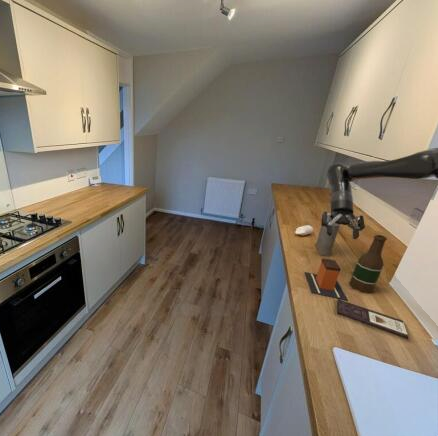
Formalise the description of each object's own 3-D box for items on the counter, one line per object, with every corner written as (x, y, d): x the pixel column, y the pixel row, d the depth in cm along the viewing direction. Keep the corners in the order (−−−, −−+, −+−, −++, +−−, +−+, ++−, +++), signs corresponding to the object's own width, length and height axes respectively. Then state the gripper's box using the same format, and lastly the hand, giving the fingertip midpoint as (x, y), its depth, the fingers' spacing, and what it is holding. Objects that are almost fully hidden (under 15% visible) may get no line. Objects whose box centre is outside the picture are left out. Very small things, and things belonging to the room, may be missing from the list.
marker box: (328, 281, 104) (335, 260, 100) (333, 291, 97) (340, 269, 94) (315, 278, 105) (322, 257, 102) (319, 288, 99) (326, 266, 95)
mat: (335, 278, 106) (335, 277, 106) (347, 300, 92) (348, 299, 92) (304, 272, 110) (304, 271, 110) (311, 292, 97) (311, 291, 96)
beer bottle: (344, 283, 103) (362, 232, 95) (359, 281, 104) (378, 231, 96) (362, 294, 96) (383, 241, 88) (378, 292, 97) (400, 239, 89)
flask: (332, 257, 124) (344, 222, 117) (319, 254, 127) (330, 220, 119) (326, 245, 137) (337, 213, 130) (315, 243, 139) (324, 211, 132)
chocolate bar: (338, 299, 92) (402, 320, 82) (337, 301, 92) (401, 322, 82) (337, 312, 85) (408, 337, 75) (337, 314, 86) (407, 339, 76)
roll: (302, 230, 144) (300, 238, 146) (314, 227, 149) (312, 235, 151) (293, 226, 149) (291, 234, 151) (304, 223, 154) (302, 231, 156)
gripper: (325, 196, 103) (325, 230, 97) (366, 200, 98) (369, 236, 92) (319, 205, 109) (318, 237, 103) (357, 209, 104) (359, 243, 98)
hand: (342, 236), depth 98 cm, fingers open, 8 cm apart
